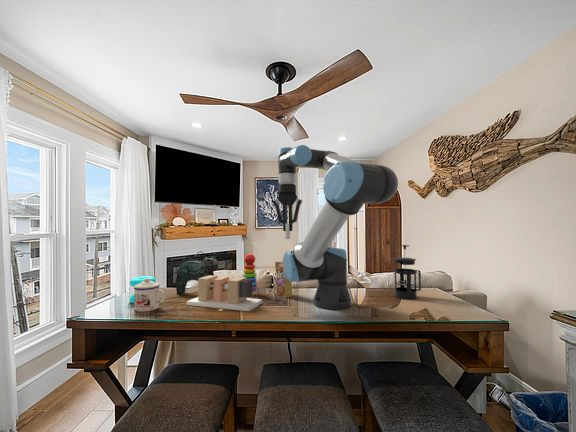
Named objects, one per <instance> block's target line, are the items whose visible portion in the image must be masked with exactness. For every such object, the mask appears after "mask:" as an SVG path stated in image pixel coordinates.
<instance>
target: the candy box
mask: <svg viewBox="0 0 576 432" xmlns="http://www.w3.org/2000/svg"><path fill="white" fill-rule="evenodd" d="M274 264H275V265H274V267H275V270H274V271H275V272H274V273H275V294H276V295H277V296H280V297H282V298H283V299H284V298H285V299H287V298H292V297H293V282H290V281H289V280H288V279H287V278H286V275H285V272H284V268H283V260H279V261H278V260H276V261H275V262H274Z"/></svg>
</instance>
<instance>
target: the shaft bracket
mask: <svg viewBox="0 0 576 432" xmlns="http://www.w3.org/2000/svg"><path fill="white" fill-rule="evenodd" d="M243 280H247V278H245V277H243V276H238V277H237V276H236V277H235V278H231V279H230V276H219V277H218V275H214V276H212V275H209V276H205V277H202V278H198V281H197V294H198V295H197V297H193V298H190V299H189V300H187V301H186V305H187V306H196V307H204V308H212V309H213V308H215V309H222V310H224V309H225V310H234V311H243V312H250V311H252V310H253V309H255V308H257V307H258V306H260V305H261V304H263V299H259V298H249V297H247V298H244V297H240V281H243ZM210 283H214V289H210ZM222 284H228V290H222Z"/></svg>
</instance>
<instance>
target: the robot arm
mask: <svg viewBox="0 0 576 432" xmlns="http://www.w3.org/2000/svg"><path fill="white" fill-rule="evenodd" d="M277 153H278V155H277V162H278V164H277V165H278V166H277V167H278V196H277V198H276V199H275V200H273V201H272V203H273V206H274V207H275V211H276V217H277V219H278V222H279V223H281V224H283V226H282V227H283V228H282V230H283V232H285V240H291V232H293V230H294V229H293V225H294V223H297V221H298V216H299V212H300V207H301V206H302V205H301V204H302V203H303V200H302V199H300V198H298V195H297V185H296V183H297V179H296V178H297V173H296V172H297V170H296V169H297V168H312V169H321V170H324V171H326V173H325V175H324V180H323V182H324V183H323V184H322V187H323V188H322V189H323V194H324V199H325V203H324V204H323V206H322V208H321V209H320V212H319V213H318V215H317V217H316V219H315V220H314V222H313V224H312V225H311V228H310V229H309V230H308V232H307V234H306V236H305V238H304V239H303V241H302V242H299V243H297V244H296V246H295V247H294V248H293V250H292V251H291V250H288V251H285V252H284V254H283V257H282V261H283V268H284V272H285V275H286V278H287V279H288V280H289V281H290V282H292V283H299V282H300V283H301V282H309V281H310V282H311V281H317V286H316V289H315V293H314V296H313V305H314V306H315V307H317V308H321V309H324V310H325V309H326V310H345V309H348V308H350V307H352V306H353V305H352V303H353V302H352V297H351V294H350V291H349V288H348V281H347V280H348V279H347V277H348V274H347V273H348V272H347V271H348V268H347V267H348V265H347V264H348V263H347V262H348V257H347V251H346V249H344V248H338V247H329V246H331V244H332V243H333V241H334V240H335V238H336V237H337V235H338V234H339V233H340V231H341V229H342V228H343V226H344V225H345V224H346V222H347V220H348V219H349V217H350V216H355V215H357V214H358V213H359V211H360V210H361V208H362V207H363V206H364V205H365V204H383V203H386V202H388V201H389V200H390V199H392V198H393V197H394V196H395V194H396V192H397V190H398V186H399V180H398V176H397V175H396V172H394V170H393V169H391V168H390V167H388V166H386V165H381V164H371V163H370V164H369V163H362V162H360V161H358V160H355V159H354V160H353V159H352V158H348V157H345V156H343V155H340V154H339V153H337V152H336V151H331V150H321V149H314V148H310V147H309V146H307V145H305V144H300V145H297V146H294V147H282V148H280V149H278V152H277ZM295 203H296V205H295V210H294V212H293V206H294V204H295ZM280 204H281V206H282V212H281V208H280ZM287 210H288V212H287ZM287 213H288V214H287ZM293 213H294V214H293ZM287 217H288V219H287Z"/></svg>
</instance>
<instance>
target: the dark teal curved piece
mask: <svg viewBox="0 0 576 432" xmlns="http://www.w3.org/2000/svg"><path fill="white" fill-rule="evenodd" d="M200 253H202V254H203V255H205V253H204V252H203V251H198V252H197V253H196V254H197V255H199V254H200ZM188 260H190V261H188ZM185 261H186V262H185ZM218 268H219V261H218V259H217V257H216V255H215V254H214V255H213V256H212V257H207V256H204V257H203V258H202V259H201V260H198V259H194V258H191V257H189V258H185V259H183V260H182V261H181V262H180V264H179V267H178V269H177V272H176V278H175V290H176V295H184V294H185V293H186V288H187V285H188V282H190V281H197V282H198V278H202V277H205V276H209V275H212V276H215V273H214V271H216V270H217V269H218Z"/></svg>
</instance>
